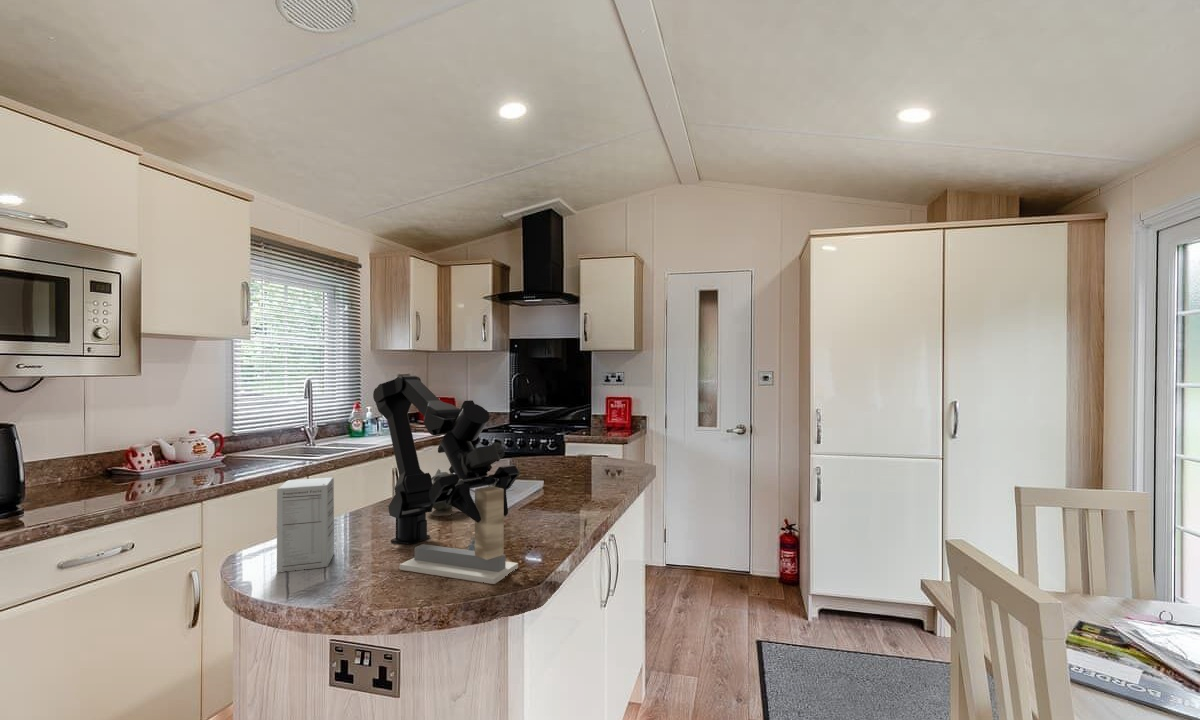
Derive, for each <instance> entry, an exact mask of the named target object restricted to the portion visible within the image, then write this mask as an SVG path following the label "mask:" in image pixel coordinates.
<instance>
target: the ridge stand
mask: <svg viewBox="0 0 1200 720" xmlns="http://www.w3.org/2000/svg"><path fill="white" fill-rule="evenodd" d="M413 553H414V557H413V558H411V559H408V560H406V561H404V562H402V563H400V564H399V570H400V571H406V572H415V573H420V574H427V575H433V576H439V577H445V578H450V579H451V578H452V579H459V580H464V581H465V580H466V581H471V582H477V583H483V582H484V584H491V585H495V584H497V583H498V582H500V581H501V580H503V579H504V578H506V577H507V576H509V575H510V574H511V573H510V572H512V571H513V570H514V571H516V570H518V569H519V562H513V561H506V554H504V555H502V556H499V557H495V558H492V559H489V560H485V559H483V558H480V557H477V556H475V551H471V550H467V549H463V548H457V547H456V548H454V547H449V546H447V547H446V546H440V545H439V546H438V545H431V544H424V543H422V544H420V545H418V546H415V547H414V551H413ZM515 569H516V570H515ZM514 571H513V572H514ZM513 572H512V573H513ZM509 573H510V574H509ZM508 574H509V575H508ZM505 576H506V577H505Z"/></svg>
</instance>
